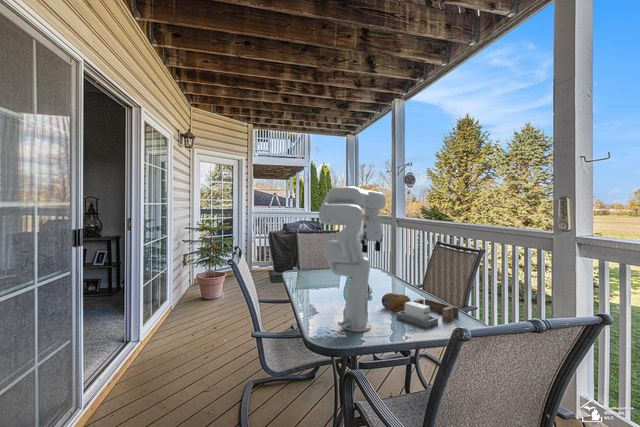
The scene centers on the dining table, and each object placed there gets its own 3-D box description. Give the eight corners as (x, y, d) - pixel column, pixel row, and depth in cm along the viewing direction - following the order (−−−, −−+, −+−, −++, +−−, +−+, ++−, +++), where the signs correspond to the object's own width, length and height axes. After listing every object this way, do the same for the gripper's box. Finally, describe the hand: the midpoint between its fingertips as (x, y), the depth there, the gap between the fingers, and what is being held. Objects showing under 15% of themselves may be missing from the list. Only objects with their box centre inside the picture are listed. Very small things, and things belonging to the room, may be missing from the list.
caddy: (425, 324, 139) (425, 309, 138) (404, 317, 147) (404, 303, 147) (431, 322, 142) (432, 307, 142) (410, 315, 151) (411, 301, 150)
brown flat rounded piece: (381, 308, 164) (381, 292, 164) (383, 306, 167) (383, 291, 167) (410, 313, 157) (410, 296, 157) (411, 311, 160) (412, 295, 160)
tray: (425, 329, 136) (425, 322, 136) (396, 319, 148) (396, 312, 148) (437, 324, 142) (438, 318, 142) (408, 314, 154) (408, 308, 154)
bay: (446, 322, 144) (446, 309, 144) (413, 312, 158) (413, 300, 158) (458, 317, 151) (458, 305, 151) (425, 308, 165) (425, 296, 165)
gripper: (365, 219, 152) (364, 254, 152) (388, 218, 163) (387, 251, 163) (354, 218, 158) (354, 252, 158) (377, 218, 169) (377, 249, 169)
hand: (371, 251), depth 161 cm, fingers open, 9 cm apart
